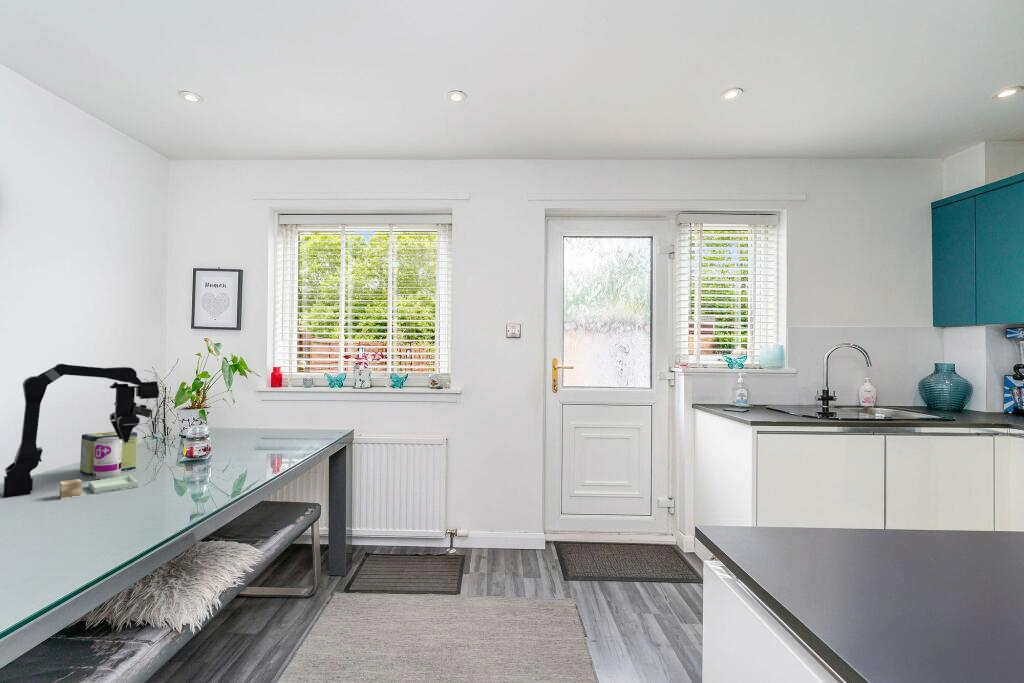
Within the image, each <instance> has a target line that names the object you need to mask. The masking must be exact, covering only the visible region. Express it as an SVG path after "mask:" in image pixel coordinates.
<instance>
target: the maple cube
mask: <svg viewBox="0 0 1024 683" xmlns="http://www.w3.org/2000/svg"><path fill="white" fill-rule="evenodd" d="M82 487H83V481H82V480H81V479H80V478H78V479H71V480H70V479H69V480H62V481H59V492H58V493H59V495H60V496H59V498H60V497H61V498H66V497H72V496H80V495H81V496H82V491H83V488H82ZM61 498H60V499H61Z"/></svg>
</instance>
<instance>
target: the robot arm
mask: <svg viewBox="0 0 1024 683" xmlns="http://www.w3.org/2000/svg"><path fill="white" fill-rule="evenodd" d="M64 375H65V376H77V377H89V378H91V377H92V378H103V379H108V380H114V382H113V383H112V384H111V385H109V389H112V390H113V389H115V402H114V404H113V405H114V406H115V408H114V409H115V410H114V412H112V413H110V414H109V422H110V423H111V425H112V428H113V429H114V431H116V433H117V436H118V438H119V439H123V441H124V442H128V441H129V438H130V435H131V432H133V430H134V428H135V427H136V426H138V425H139V424H140V422H141V420H140V419H141V418H140V417H138V416H143V417H145V418H150V416H151V414H152V413H153V409H151V408H147V405H145V404H141V403H140V405H137V402H135V397H136V398H137V397H138V398H139V400H145V399H146V400H149V399H150V400H151V399H158V398H159V395H160V390H159V385H158V381H155V380H154V381H153V380H152V381H142V380H141V379H140V378H139V377H138V374H137V370H135V369H134V368H132V367H129V366H128V367H127V366H118V367H117V366H116V367H95V366H87V365H86V366H84V365H76V364H75V365H74V364H65V363H57V364H55V366H54V367H51V368H49V369H48V370H45V371H44V372H42V373H40V374H38V375H33V376H28V377H27V378H25V379H24V380H23V382H22V390H23V396H24V403H25V404H24V411H23V412H24V414H23V421H22V423H23V424H22V431H21V441H20V444H19V447H18V449H17V451H16V454H15V456H14V460H13V462H12V463H10V465H9V466H7V467H6V468H4V471H5V474H6V475H4V476H3V492H2V496H3V498H8V497H17V496H22V495H30V494H32V491H33V489H34V487H33V486H34V484H33V482H34V478H33V477H32V474H31V472H32V471H34V470H35V469H37V467H38V466H39V463H41V462H43V461H42V459H41V458H42V457H41V456H42V454H43V448H42V447H39V446H37V439H38V438H37V437H38V428H39V419H40V411H41V403H42V401H43V400H44V397H45V394H46V390H47V389H48V385H49V386H50V385H51V384H52V383H54V382H55V381H57V380H58V379H60V378H61V377H63V376H64ZM116 381H118V382H122V383H118V382H116ZM128 383H129V384H132V385H129V384H128ZM137 415H138V416H137Z"/></svg>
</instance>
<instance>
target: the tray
mask: <svg viewBox="0 0 1024 683" xmlns="http://www.w3.org/2000/svg"><path fill="white" fill-rule="evenodd" d="M138 484H139V481H138V480H137V479H135V477H133V476H132V475H126V476H119V477H117V478H110V479H103V480H97V479H95V480H91V481H90V480H89V481H88V488H89V487H90V488H91V489H92V490H91V489H90V488H89V489H90V490H91V492H92V493H93V492H94V493H97V494H100V493H99V492H104V491H109V490H116V489H122V488H129V487H136V486H138ZM138 487H139V486H138ZM136 488H137V487H136ZM94 493H93V494H94ZM104 493H105V492H104Z"/></svg>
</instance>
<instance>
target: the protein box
mask: <svg viewBox="0 0 1024 683" xmlns="http://www.w3.org/2000/svg"><path fill="white" fill-rule="evenodd" d="M106 437H118V436H117V433H116V431H115V430H113V431H105V432H93V433H84V434H81V439H80V440H81V441H80V463H79V464H80V465H79V474H80V473H82V474H81V475H83V474H84V475H83V476H86V475H87V476H86V477H88V476H89V477H88V478H91V477H90V476H93V470H94V446H95V442H96V441H97V439H99V438H106ZM121 440H122V458H121V471H125V470H132V469H137V468H136V467H137V464H136V463H137V448H138V447H137V446H138V445H137V443H138V432H135V431H132V432H131V435H130V438H129V441H128V442H124V441H123V439H121Z"/></svg>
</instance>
